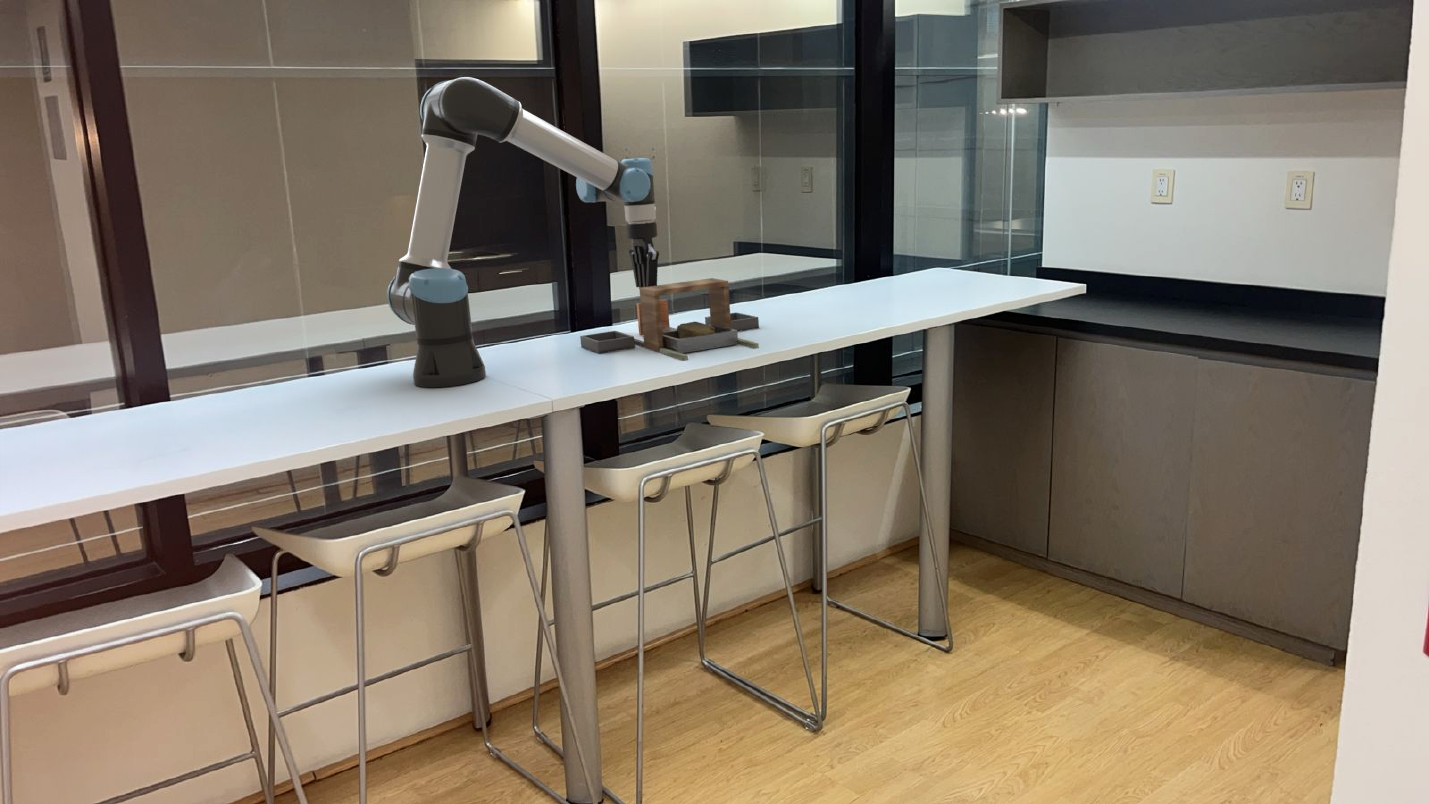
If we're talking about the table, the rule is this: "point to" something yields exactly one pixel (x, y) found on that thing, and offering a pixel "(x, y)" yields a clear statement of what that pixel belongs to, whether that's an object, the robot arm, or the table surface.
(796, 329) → the table surface
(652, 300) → the tunnel
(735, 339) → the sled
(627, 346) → the tray
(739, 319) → the pit tray far
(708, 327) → the stone block
